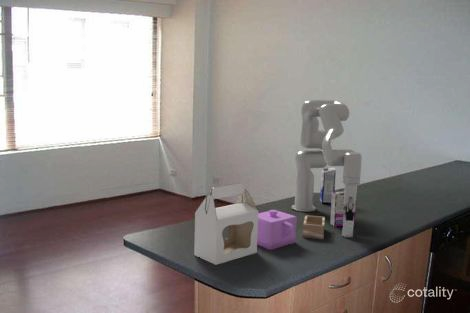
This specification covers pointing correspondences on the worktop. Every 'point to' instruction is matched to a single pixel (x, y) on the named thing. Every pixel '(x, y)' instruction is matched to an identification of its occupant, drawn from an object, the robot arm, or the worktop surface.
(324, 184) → the milk carton
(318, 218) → the open wooden box
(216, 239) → the gable box
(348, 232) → the brushed metal block
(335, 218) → the candy bar box
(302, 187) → the robot arm
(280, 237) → the teapot
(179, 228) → the worktop surface
